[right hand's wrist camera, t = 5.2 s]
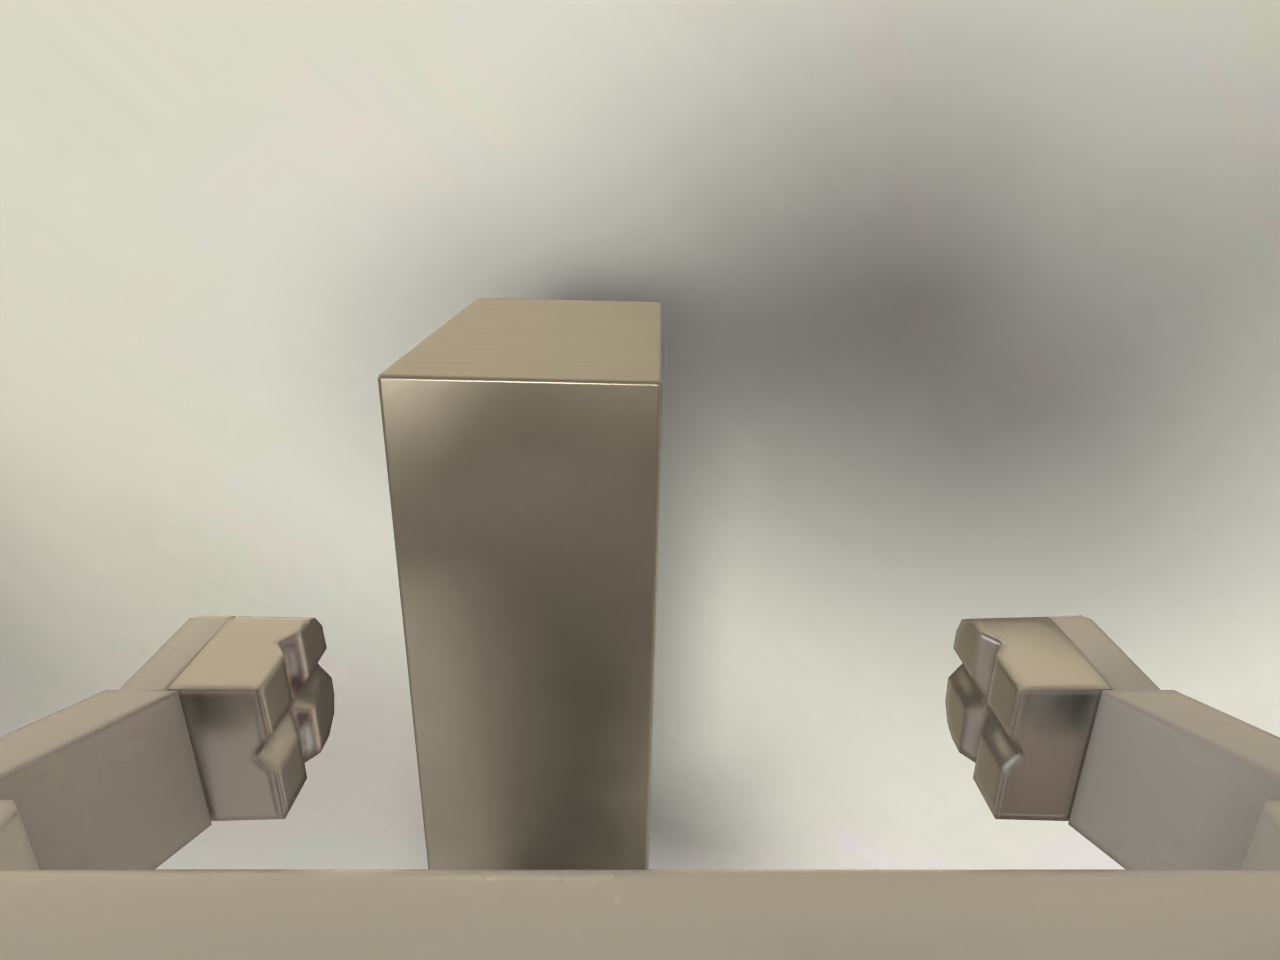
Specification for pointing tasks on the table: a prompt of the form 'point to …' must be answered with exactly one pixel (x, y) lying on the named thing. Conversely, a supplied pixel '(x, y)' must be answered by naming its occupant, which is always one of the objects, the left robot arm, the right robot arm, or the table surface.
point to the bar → (530, 578)
